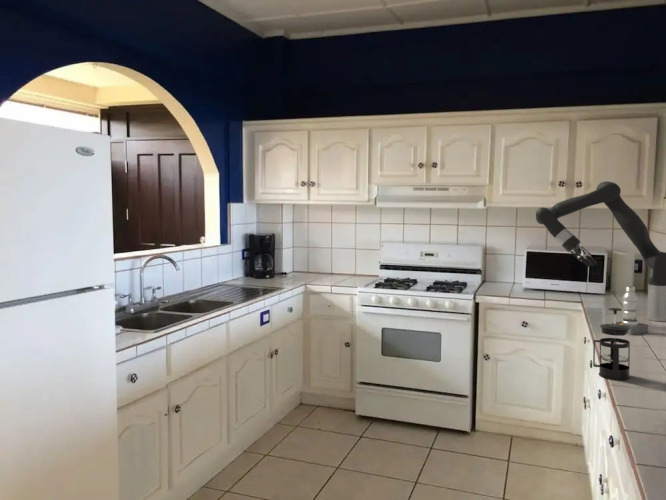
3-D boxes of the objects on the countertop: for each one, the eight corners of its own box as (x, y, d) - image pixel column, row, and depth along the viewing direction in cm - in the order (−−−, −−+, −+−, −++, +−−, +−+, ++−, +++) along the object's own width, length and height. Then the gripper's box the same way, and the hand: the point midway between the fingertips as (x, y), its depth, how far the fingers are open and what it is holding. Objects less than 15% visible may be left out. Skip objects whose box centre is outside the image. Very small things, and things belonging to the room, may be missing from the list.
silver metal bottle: (629, 333, 247) (630, 288, 246) (618, 330, 254) (618, 286, 252) (641, 332, 249) (642, 287, 247) (629, 329, 255) (630, 285, 254)
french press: (630, 373, 191) (631, 306, 189) (634, 381, 182) (635, 311, 180) (592, 370, 195) (593, 305, 193) (594, 378, 186) (594, 309, 184)
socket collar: (628, 328, 258) (628, 319, 257) (647, 332, 248) (648, 323, 248) (612, 330, 254) (612, 321, 254) (630, 334, 245) (630, 325, 244)
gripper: (568, 235, 264) (594, 260, 257) (577, 233, 275) (602, 258, 268) (557, 246, 268) (582, 271, 261) (566, 244, 279) (590, 268, 272)
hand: (592, 264), depth 265 cm, fingers open, 8 cm apart
